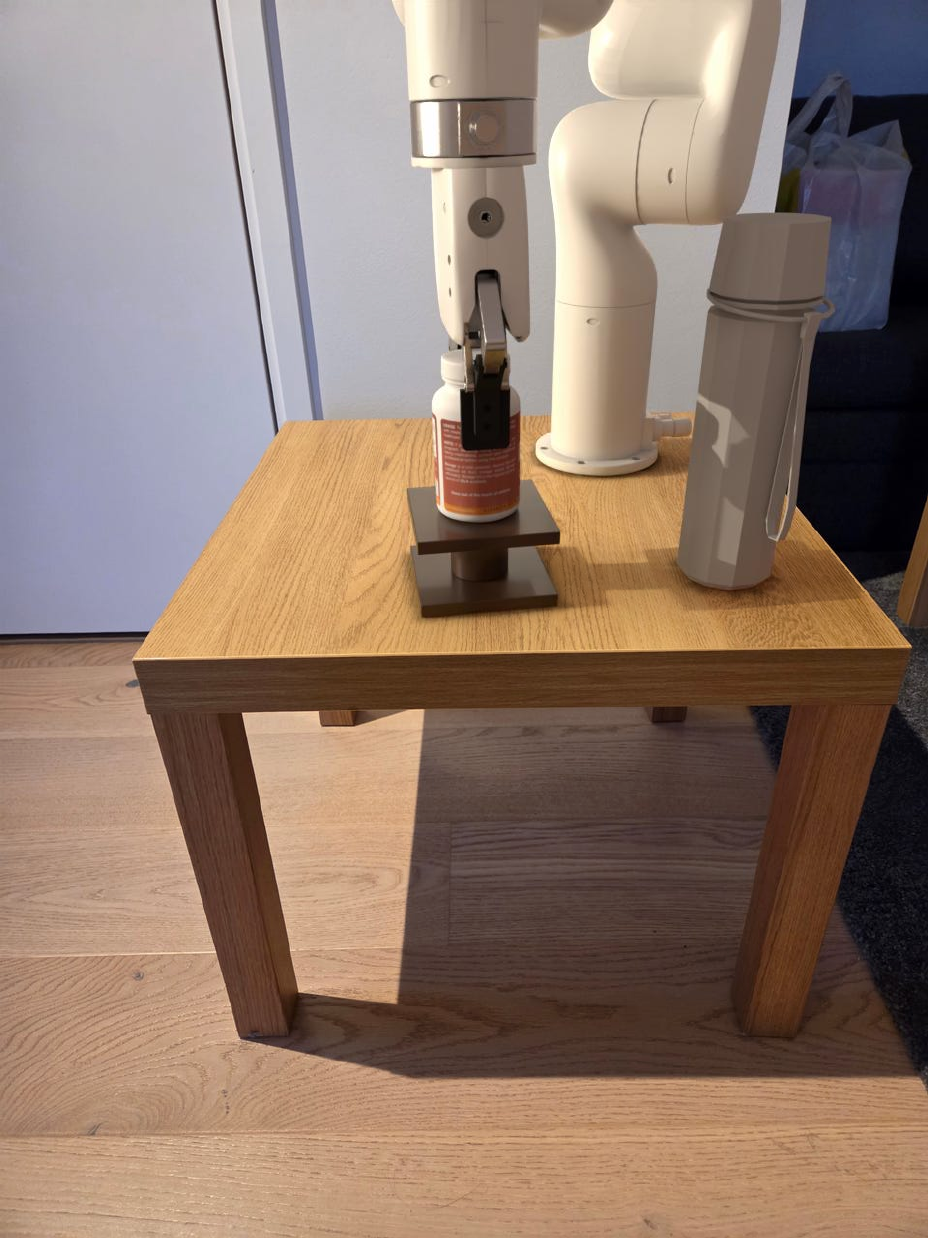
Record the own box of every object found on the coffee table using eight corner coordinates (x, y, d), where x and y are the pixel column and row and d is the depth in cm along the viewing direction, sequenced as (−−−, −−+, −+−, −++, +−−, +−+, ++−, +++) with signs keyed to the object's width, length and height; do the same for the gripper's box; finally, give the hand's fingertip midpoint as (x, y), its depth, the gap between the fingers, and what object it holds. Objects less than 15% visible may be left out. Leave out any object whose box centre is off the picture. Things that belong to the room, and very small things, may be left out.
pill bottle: (537, 511, 61) (540, 357, 56) (466, 533, 59) (463, 372, 53) (488, 485, 66) (487, 339, 60) (420, 504, 63) (413, 353, 57)
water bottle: (652, 564, 67) (689, 216, 54) (731, 544, 70) (784, 208, 57) (729, 617, 60) (793, 230, 47) (814, 592, 62) (896, 221, 50)
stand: (530, 546, 70) (531, 478, 67) (557, 606, 62) (560, 531, 58) (410, 556, 69) (406, 487, 66) (421, 618, 60) (417, 542, 57)
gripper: (570, 138, 43) (557, 471, 52) (510, 133, 58) (508, 393, 67) (423, 143, 42) (437, 480, 51) (400, 136, 57) (414, 399, 66)
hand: (477, 429), depth 59 cm, fingers open, 6 cm apart
